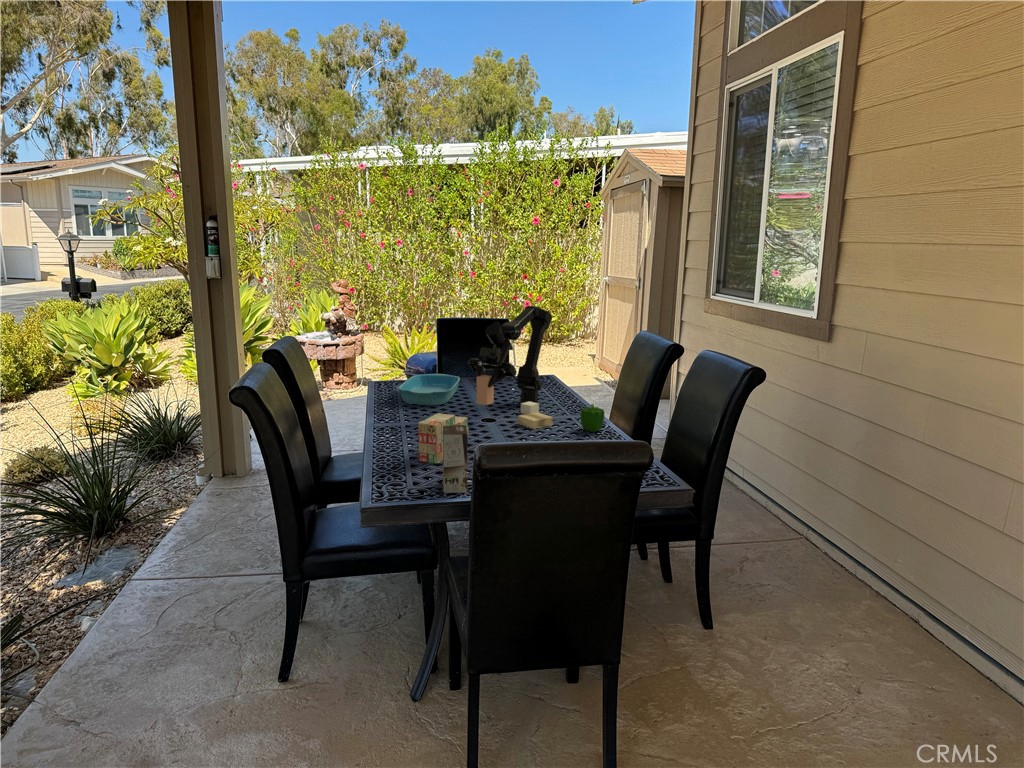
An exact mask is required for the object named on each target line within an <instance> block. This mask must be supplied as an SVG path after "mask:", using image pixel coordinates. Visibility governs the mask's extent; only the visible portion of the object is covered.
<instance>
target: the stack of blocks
mask: <svg viewBox="0 0 1024 768" xmlns="http://www.w3.org/2000/svg"><path fill="white" fill-rule="evenodd" d="M468 419H469V417H465V416H458V415H457V416H456V415H455V414H449V413H448V414H445V413H439V412H438V413H435V414H434V415H432V416H430V417H428V418H426V419H424V420H421V421H419V422H418V423H417V425H418V427H417V428H418V432H417V438H418V439H417V440H418V462H421V463H427V464H428V463H429V464H434V463H435V465H437V463H438V464H439V463H441V462H443V461H442V460H443V426H451V425H466V428H467V433H468V434H469V420H468ZM467 444H468V445H469V435H468V436H467ZM440 461H441V462H440Z"/></svg>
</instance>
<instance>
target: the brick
mask: <svg viewBox="0 0 1024 768" xmlns="http://www.w3.org/2000/svg"><path fill="white" fill-rule="evenodd" d="M536 412H538V413H540V404H539V403H534V402H530V401H529V402H525V403H520V414H521V415H525V414H530V413H536Z"/></svg>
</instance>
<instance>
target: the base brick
mask: <svg viewBox="0 0 1024 768" xmlns="http://www.w3.org/2000/svg"><path fill="white" fill-rule="evenodd" d="M517 417H518V418H517V424H518V425H520V426H522V425H523V427H525V426H526V427H525V428H528V427H529V428H528V429H531V428H532V429H531V430H533V429H534V430H537V429H536V428H539V429H543V428H542V427H544V428H548V426H549V427H553V426H554V416H550V415H547V414H544V413H541V412H539V413H538V412H536V413H530V414H520V415H518V416H517ZM552 425H553V426H552Z"/></svg>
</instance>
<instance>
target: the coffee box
mask: <svg viewBox="0 0 1024 768" xmlns="http://www.w3.org/2000/svg"><path fill="white" fill-rule="evenodd" d="M467 436H468V437H469V432H468V433H467V428H466V425H451V426H443V461H442V464H443V465H442V469H443V470H442V472H443V473H442V477H443V478H442V479H443V493H444V494H448V493H449V494H451V493H453V494H454V493H455V494H456V493H458V494H461V493H463V494H464V493H468V445H467Z"/></svg>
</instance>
